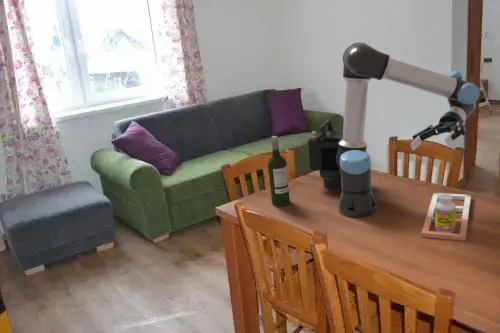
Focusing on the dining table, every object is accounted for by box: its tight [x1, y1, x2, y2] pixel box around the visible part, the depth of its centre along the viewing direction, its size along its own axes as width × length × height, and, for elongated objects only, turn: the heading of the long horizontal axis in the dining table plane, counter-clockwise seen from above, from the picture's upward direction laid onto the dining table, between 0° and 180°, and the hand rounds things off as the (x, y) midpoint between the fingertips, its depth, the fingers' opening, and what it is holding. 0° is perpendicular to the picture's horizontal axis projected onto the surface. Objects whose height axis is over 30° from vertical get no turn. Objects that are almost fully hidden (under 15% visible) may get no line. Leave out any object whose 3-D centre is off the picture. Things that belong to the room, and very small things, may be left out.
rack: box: [421, 192, 472, 242], centre depth 181 cm, size 38×14×2 cm, turn 154°
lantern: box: [307, 119, 343, 191], centre depth 222 cm, size 15×18×30 cm
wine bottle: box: [267, 135, 291, 207], centre depth 208 cm, size 8×8×30 cm
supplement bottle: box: [434, 193, 457, 233], centre depth 169 cm, size 7×7×13 cm
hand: (428, 144), depth 176 cm, fingers open, 13 cm apart
